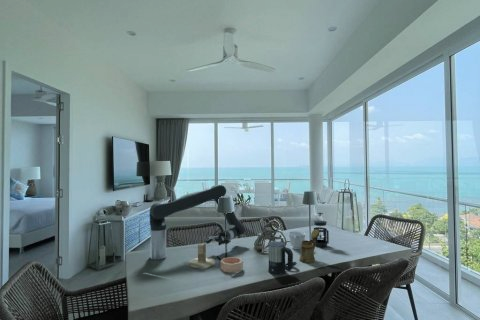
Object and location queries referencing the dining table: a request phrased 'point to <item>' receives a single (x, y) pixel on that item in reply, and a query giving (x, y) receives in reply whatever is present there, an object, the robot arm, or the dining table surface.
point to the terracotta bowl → (231, 264)
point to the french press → (318, 240)
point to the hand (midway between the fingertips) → (212, 242)
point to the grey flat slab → (200, 269)
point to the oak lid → (201, 259)
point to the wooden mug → (309, 248)
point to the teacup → (296, 239)
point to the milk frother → (279, 258)
